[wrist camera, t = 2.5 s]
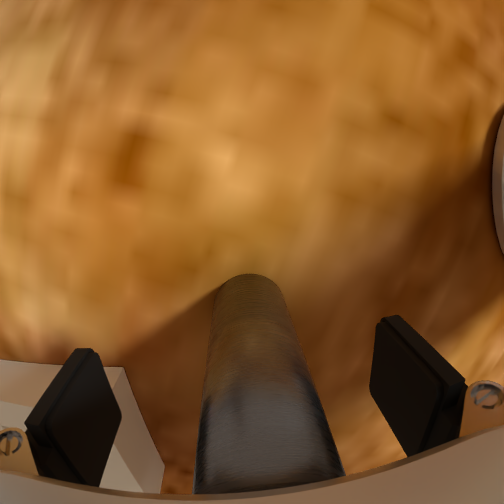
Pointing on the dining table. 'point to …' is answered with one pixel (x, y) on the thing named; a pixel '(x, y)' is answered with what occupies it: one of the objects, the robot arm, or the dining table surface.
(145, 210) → the dining table surface
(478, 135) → the dining table surface
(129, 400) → the hole block
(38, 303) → the dining table surface
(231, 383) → the long pin
